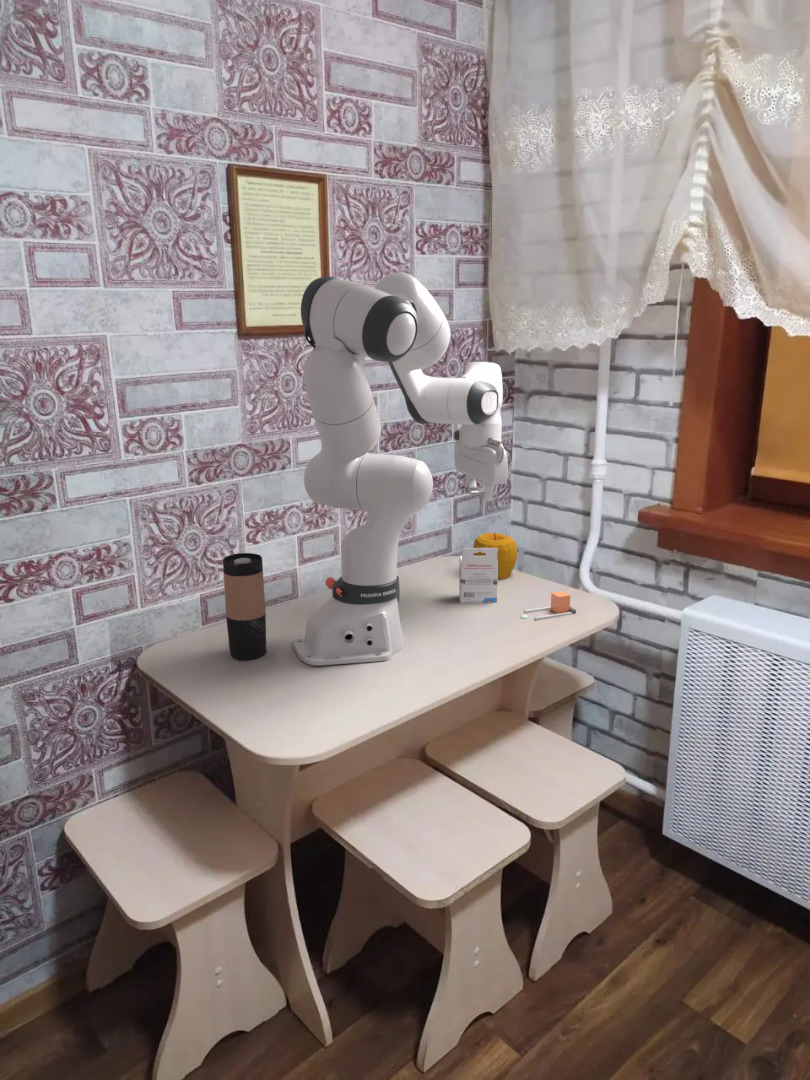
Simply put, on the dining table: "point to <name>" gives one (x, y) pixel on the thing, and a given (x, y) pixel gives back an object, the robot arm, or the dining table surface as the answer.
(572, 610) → the breaker panel
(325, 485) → the robot arm
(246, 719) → the dining table surface
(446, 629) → the dining table surface
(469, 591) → the ink box
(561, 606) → the block
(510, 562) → the apple
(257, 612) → the travel mug
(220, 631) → the dining table surface
